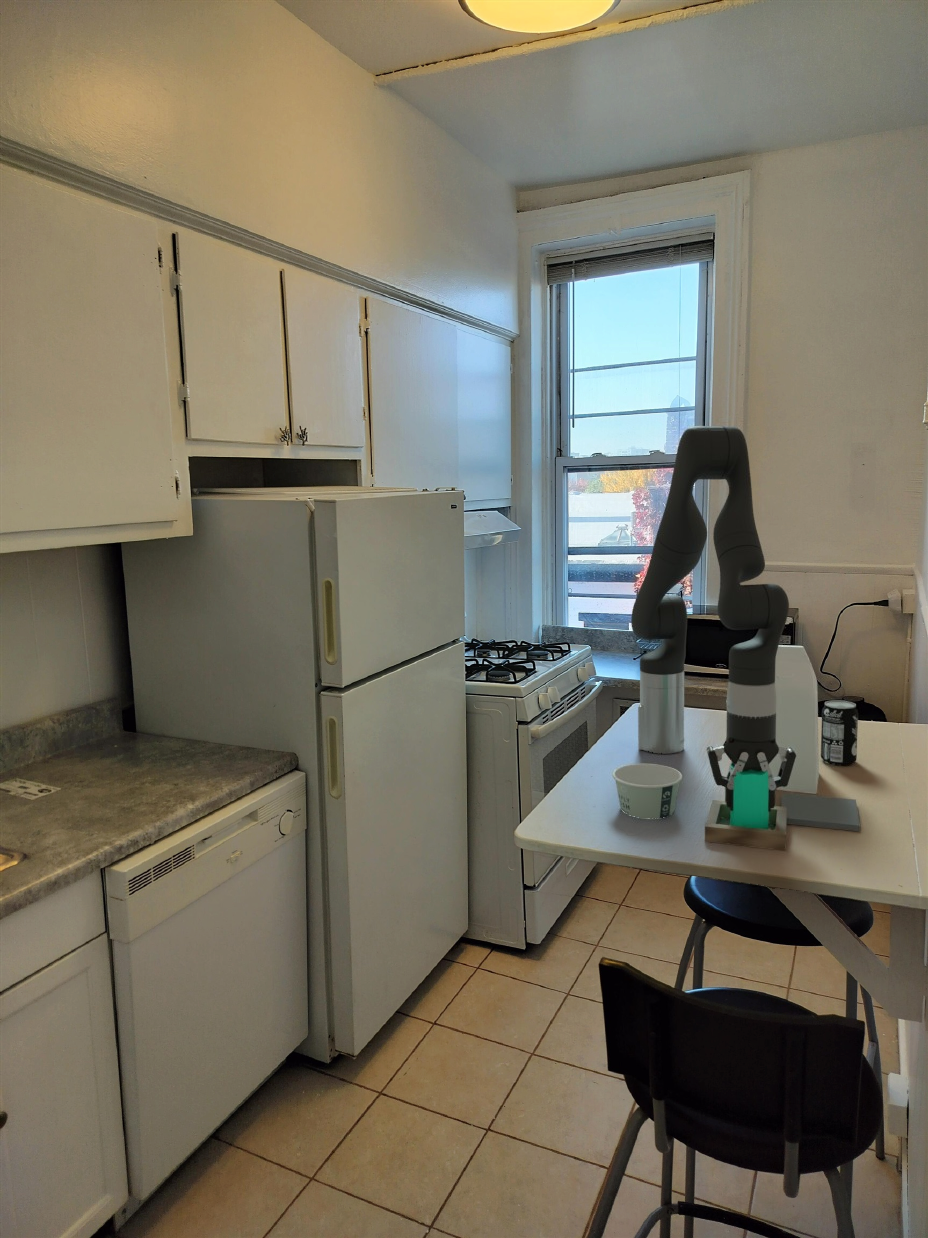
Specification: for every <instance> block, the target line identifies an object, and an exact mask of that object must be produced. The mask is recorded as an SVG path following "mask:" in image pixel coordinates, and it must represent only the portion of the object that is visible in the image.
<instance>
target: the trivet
mask: <svg viewBox="0 0 928 1238" xmlns="http://www.w3.org/2000/svg"><path fill="white" fill-rule="evenodd" d="M780 807H787V825H795V826H806V827H812V828H813V827H816V828H824V829H835V830H843V831H854V832H860V831H861V824H860V818H859V812H858V811H859V810H858V806H857V799H855V798H843V797H833V796H821V795H810V794H800V793H788V792H781V806H780Z"/></svg>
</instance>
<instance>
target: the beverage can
mask: <svg viewBox="0 0 928 1238" xmlns="http://www.w3.org/2000/svg"><path fill="white" fill-rule="evenodd" d="M856 707H857V704H856V703H855V702H852V701H847V700H841V699H840V700H827V701H825V702H824V706H823V708H822V709H821V740H820V742H821V743H820V758H821V759H822V760H823V762H824V763H826V764H829V765H831V766H838V767H848V766H851V765H853V764H854V763H855V762H856V761H857V754H858V751H857V750H858V728H859V726H858V725H859V724H858V723H859V721H858V720H859V711H858V709H857V708H856Z"/></svg>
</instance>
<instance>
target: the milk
mask: <svg viewBox="0 0 928 1238" xmlns="http://www.w3.org/2000/svg"><path fill="white" fill-rule="evenodd" d="M775 688H776V743H777V745H778V747H782V748H788V747H790V748H792V749H793V751H794V752H795V754H796V758H795V762H794V765H793V768H792V772H791V775H790V779H789V782H788V785H787V786H786V787H782V786H781V787H778V788H777V789H776V790H775V791H785V792H795V793H804V794H814V795H815V794H817V792H818V784H819V777H820V763H819V762H820V759H819V757H820V755H819V750H820V749H819V714H818V713H819V707H818V706H819V705H818V702H819V701H818V680H817V676H816V673H815V670H814V667H813V665H812V662H811V660H810V658H809V655H808V654H807V651H806V648H805V647H804V646H802V645H788V644H787V645H785V644H784V645H783V644H779V645H778V649H777V653H776V660H775ZM781 762H782V761H781V760H780V758H779V754H777V755H776V756H775V757H774V759H773V760H772V761H771V762H770V764H769V768H770V770H771V773H772V776H773V778H774V777H777V776H778V773H779V769H780V766H781Z"/></svg>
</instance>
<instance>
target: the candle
mask: <svg viewBox="0 0 928 1238" xmlns="http://www.w3.org/2000/svg"><path fill="white" fill-rule="evenodd" d="M731 769H732V770H733V769H734V765H732V766H731ZM768 787H769V777H768V772H767V771H766V772H764V773H763V772H762V771H754V770H748V771H742V772H741V773H740V772H737V776H736V777H734V789H733V790H734V794H733V811H731V810H730V819H729V820H730V822H729V825H731V826H740V827H749V828H758V829H768V830H770V829H769V828H770V827H769V826H770V825H769V824H770V823H769V812H768V792H769V788H768Z"/></svg>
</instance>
